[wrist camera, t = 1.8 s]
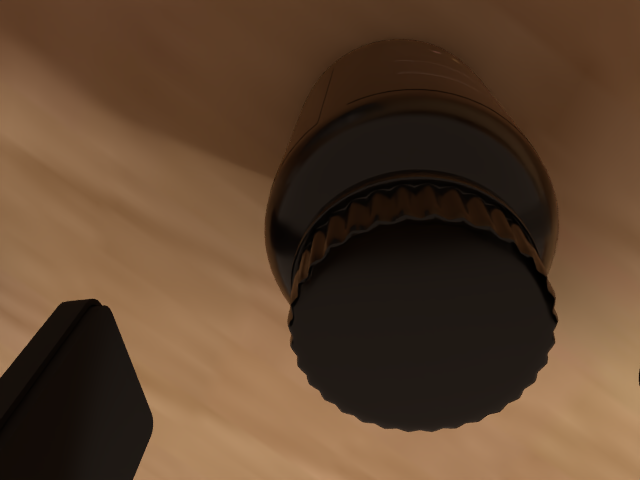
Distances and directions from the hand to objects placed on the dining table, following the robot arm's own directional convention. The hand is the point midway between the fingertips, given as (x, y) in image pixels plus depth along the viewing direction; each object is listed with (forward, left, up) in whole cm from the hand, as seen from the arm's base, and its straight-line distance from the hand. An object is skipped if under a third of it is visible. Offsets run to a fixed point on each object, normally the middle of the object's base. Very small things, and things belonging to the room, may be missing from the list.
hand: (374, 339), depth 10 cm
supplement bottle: (-1, 0, -12) cm, 12 cm away
